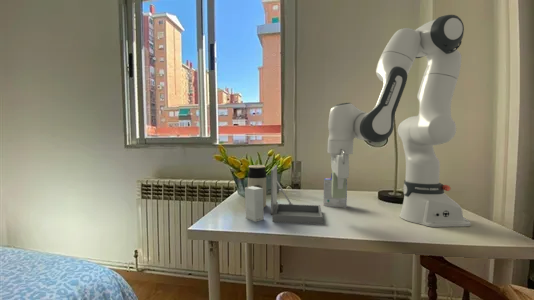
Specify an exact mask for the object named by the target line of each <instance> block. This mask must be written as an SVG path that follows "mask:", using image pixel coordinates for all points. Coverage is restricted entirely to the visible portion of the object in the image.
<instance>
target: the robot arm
mask: <svg viewBox="0 0 534 300" xmlns="http://www.w3.org/2000/svg"><path fill="white" fill-rule="evenodd" d="M464 27H465V26H464V22H463V21H462V19H461V17H459V16H458V15H456V14H446V15H440V16H438V17H437V18H436V19H432V20H430V21H427V22H425V23H423V24H422V25H420V26H418V28H416V29H414V28H410V27H404V28H400V29H398V30H397V31H395V32H394V33H393V35H392V36H391V38H390V39H389V41H388V42H387V44H386V46H385V47H384V49H383V51H382V52H381V55H380V57H379V59H378V62H377V64H376V68H375V74H376V76H377V78H378V80H379V81H380V82H382V84H383V85H382V89H381V91H380V94H379V97H378V98H377V101H376V104H375V105H374V108H372V110H370V111H369V112H366V111H364V110H362V109H359V108H358V107H357V106H355V105H354V104H353V103H351V102H344V103H339V104H335V105H333V106H332V107H331V108H330V111H329V113H328V114H329V116H328V123H327V124H328V125H327V126H328V127H327V129H328V138H327V151H326V152H327V154H330V166H331V172H332V171H334V172H335V175H336V176H337V179H338V183H337V188H338V189H343V182H344V178H346V179H349V176H350V155H353V154H354V139H356V140H362V141H369V142H372V143H381V142H384V141H386V140H388V138H390V136H391V135H392V133H393V131H394V128H395V116H396V111H397V110H398V109H397V108H398V107H399V103H400V102H401V98H402V96H403V92H404V90H405V88H406V85H407V80H408V76H409V73H410V71H411V69H412V67H413V65H414V62H415V60H416V59H421V58H423V57H426V68H425V69H424V72H423V75H422V78H421V82H420V85H419V89H418V91H417V94H416V97H417V100H418V103H419V104H418V105H419V110H418V114H417V115H413V116H409V117H407V118H406V119H404V120H402V121H401V122H400V123H399V125H398V126H397V134H398V137H399V138H400V140H401V143H402V147H403V152H404V157H405V180H404V181H403V195H404V197H403V201H402V206H401V211H400V213H399V218H401V219H402V220H405V221H407V222H411V223H415V224H420V225H423V226H427V227H431V228H443V227H444V228H445V227H448V228H449V227H471V221H470V220H468V219H467V218H465V217H464V214H463V210H462V206H461V205H460V204H459V203H457V201H455V200H454V199H452V198H451V197H449V195H448V194H446V193H445V191H446V192H449V191H450V190H452V188H451V186H450V185H447V184H443V183H441V182H440V173H441V161H440V159H439V158H438V156H437V155H436V153H435V149H434V146H437V145H439V146H440V145H443V144H446V143H449V142H450V141H451V140H453V138H454V137H455V136H456V133H457V124H456V122H455V120H454V119H453V117H452V100H453V97H454V92H455V90H456V86H457V82H458V80H459V75H460V73H461V72H460V71H461V65H462V54H461V52H460V50H458V49H459V48H460V47H461V45H462V40H463V37H464V33H465V28H464Z"/></svg>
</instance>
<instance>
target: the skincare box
mask: <svg viewBox="0 0 534 300" xmlns="http://www.w3.org/2000/svg"><path fill="white" fill-rule="evenodd" d="M244 199H245V202H244V205H245V206H244V207H245V219H248V220H250V221H252V222H259V221H264V219H265V217H264V213H265V212H264V207H263V188H259V187H254V186H251V187H248V186H246V187H244Z"/></svg>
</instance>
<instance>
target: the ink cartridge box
mask: <svg viewBox="0 0 534 300" xmlns="http://www.w3.org/2000/svg"><path fill="white" fill-rule="evenodd" d="M347 179H348V178H346V198H332V195H331V191H332V172H331V175H330V177H326V178H325V177H324V179H323V207H334V208H335V207H336V208H345V209H347V201H348V200H347V197H348V181H347Z"/></svg>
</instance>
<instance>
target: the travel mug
mask: <svg viewBox="0 0 534 300" xmlns="http://www.w3.org/2000/svg"><path fill="white" fill-rule="evenodd" d="M248 168H249V169H248V172H247V187H251V186H254V187H259V188H263V208H266V207H267V172H266V165H263V164H253V165H252V164H251V165H248Z"/></svg>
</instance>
